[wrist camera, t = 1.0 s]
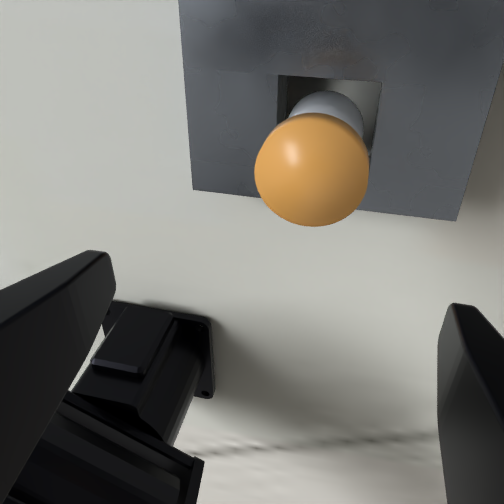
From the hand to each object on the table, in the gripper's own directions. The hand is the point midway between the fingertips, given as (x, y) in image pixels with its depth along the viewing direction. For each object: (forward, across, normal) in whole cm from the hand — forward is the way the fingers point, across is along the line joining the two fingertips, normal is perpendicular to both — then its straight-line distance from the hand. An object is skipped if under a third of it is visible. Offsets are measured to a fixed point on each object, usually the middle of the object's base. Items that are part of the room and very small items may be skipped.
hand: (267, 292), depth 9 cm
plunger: (+9, 0, 0) cm, 9 cm away
